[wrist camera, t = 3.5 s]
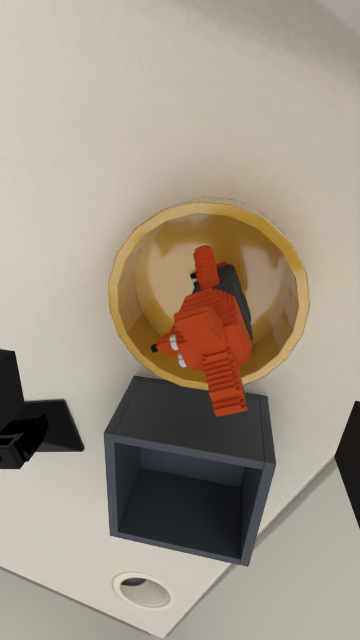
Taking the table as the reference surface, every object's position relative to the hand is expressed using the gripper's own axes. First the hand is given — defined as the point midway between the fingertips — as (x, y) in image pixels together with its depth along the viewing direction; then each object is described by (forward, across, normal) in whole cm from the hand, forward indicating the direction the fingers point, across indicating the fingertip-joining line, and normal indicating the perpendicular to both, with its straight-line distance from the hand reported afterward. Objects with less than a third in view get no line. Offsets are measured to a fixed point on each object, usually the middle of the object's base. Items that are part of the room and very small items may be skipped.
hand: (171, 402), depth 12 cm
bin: (+14, 0, -16) cm, 21 cm away
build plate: (+15, -19, -19) cm, 30 cm away
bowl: (+14, 0, 0) cm, 14 cm away
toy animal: (+14, 0, 0) cm, 14 cm away
